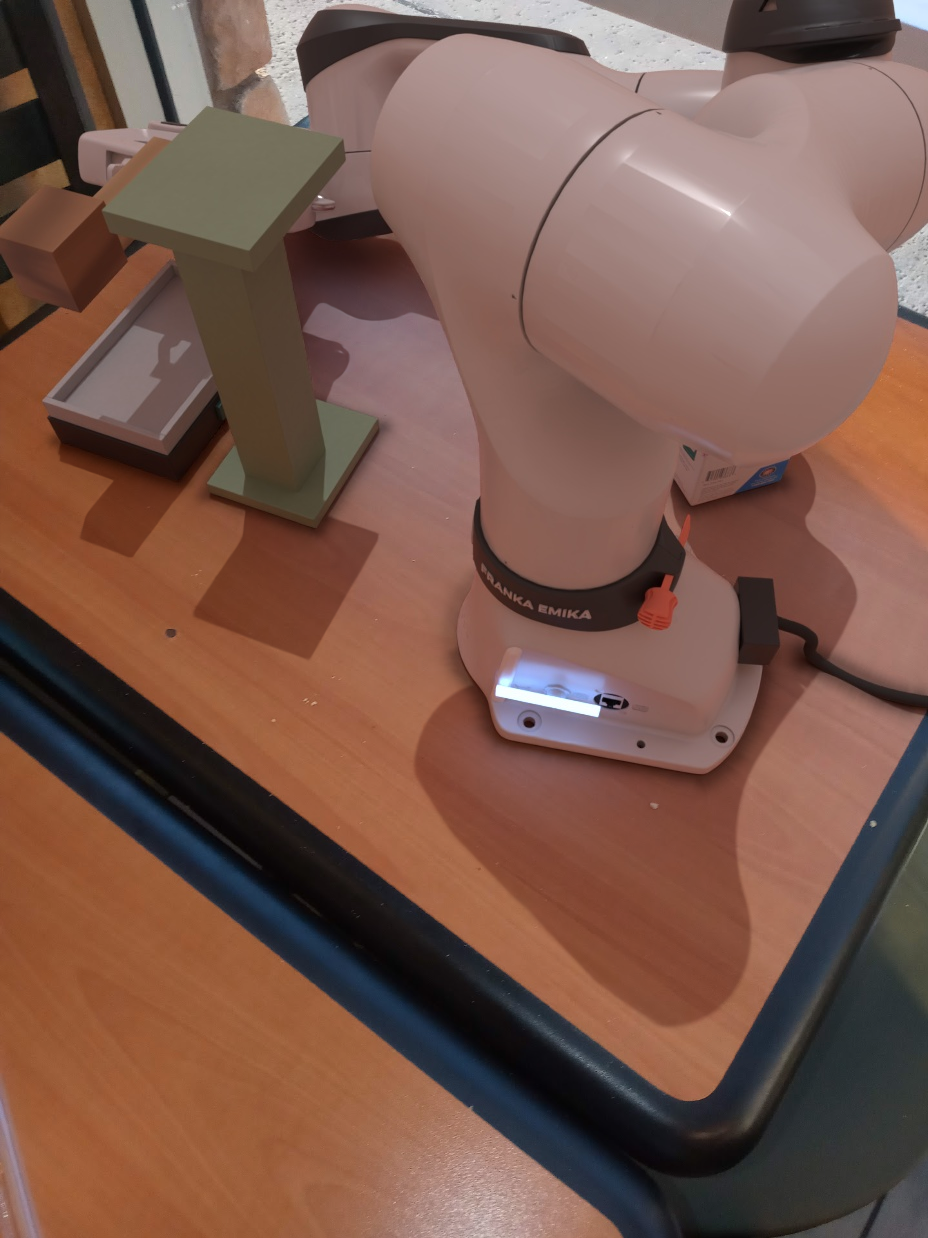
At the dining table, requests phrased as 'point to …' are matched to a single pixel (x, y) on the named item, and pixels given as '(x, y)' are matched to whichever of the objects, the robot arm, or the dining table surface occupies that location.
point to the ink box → (720, 476)
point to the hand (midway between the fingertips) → (138, 184)
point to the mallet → (69, 239)
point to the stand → (250, 299)
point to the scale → (142, 386)
